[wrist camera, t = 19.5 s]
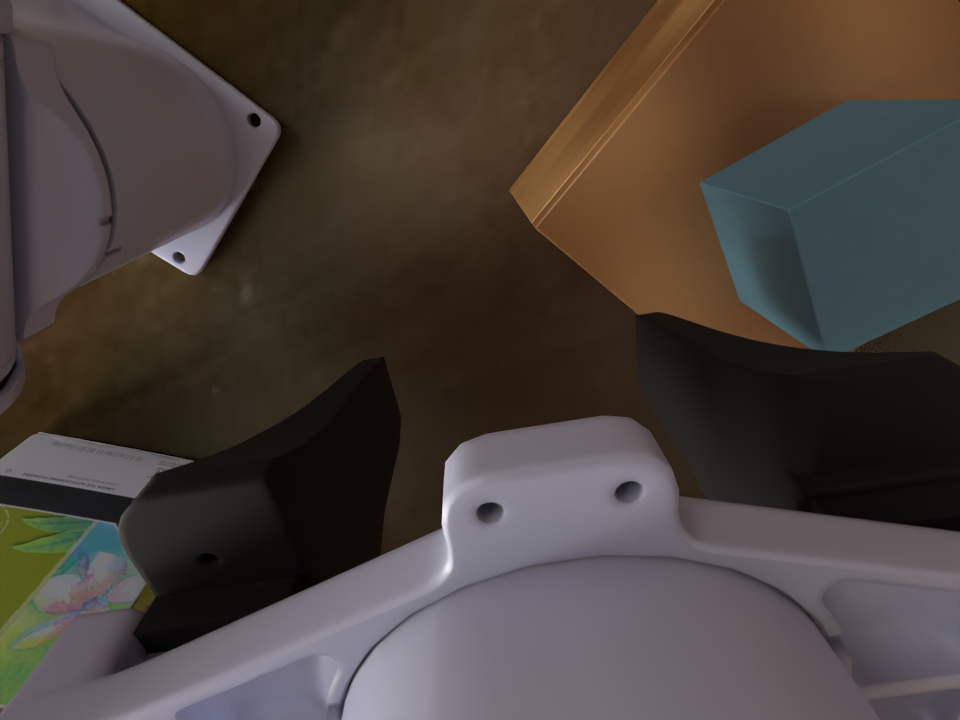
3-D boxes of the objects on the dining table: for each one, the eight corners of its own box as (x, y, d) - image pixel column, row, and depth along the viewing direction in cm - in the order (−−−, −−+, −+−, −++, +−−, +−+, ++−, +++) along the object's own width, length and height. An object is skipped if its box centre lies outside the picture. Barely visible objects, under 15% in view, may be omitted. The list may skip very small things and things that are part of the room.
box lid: (839, -153, 12) (860, -166, 11) (1043, 174, 16) (1067, 177, 15) (530, 222, 16) (534, 228, 15) (757, 413, 20) (767, 423, 19)
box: (692, -45, 18) (810, -118, 12) (864, 170, 22) (1018, 194, 16) (508, 189, 22) (530, 222, 16) (685, 340, 26) (756, 412, 20)
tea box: (29, 424, 26) (-400, 752, 13) (229, 461, 28) (31, 782, 15) (54, 608, 32) (-216, 952, 19) (215, 629, 34) (69, 956, 21)
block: (698, 182, 15) (787, 210, 11) (846, 99, 14) (1000, 97, 10) (739, 301, 17) (827, 361, 13) (872, 234, 16) (1010, 276, 12)
